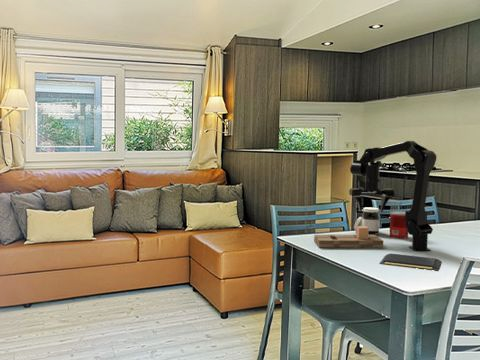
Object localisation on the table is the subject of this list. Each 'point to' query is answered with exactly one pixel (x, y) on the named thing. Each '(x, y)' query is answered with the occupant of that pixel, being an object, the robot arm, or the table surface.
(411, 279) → the table surface
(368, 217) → the spread jar
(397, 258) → the dark grey flat slab
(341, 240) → the bore block
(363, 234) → the square peg
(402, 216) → the canned food
